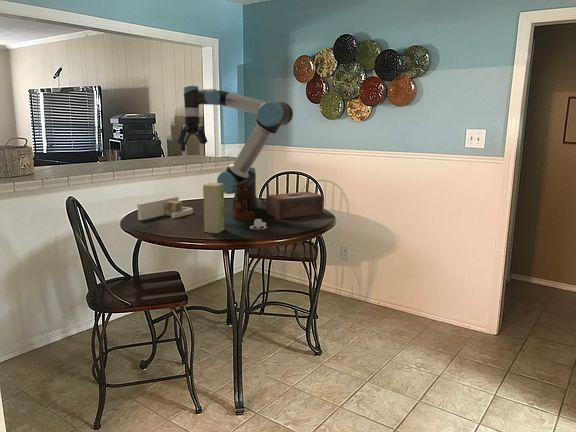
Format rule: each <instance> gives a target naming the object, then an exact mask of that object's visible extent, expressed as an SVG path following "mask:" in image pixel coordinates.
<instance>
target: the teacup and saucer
mask: <svg viewBox="0 0 576 432" xmlns="http://www.w3.org/2000/svg"><path fill="white" fill-rule="evenodd" d="M254 227H255V228H254ZM261 227H263V228H261ZM267 227H268V226H267V222H265V221H262V219H261V218H255V219H254V222H253V225H250V226H249V229H251V230H255V229H261V230H264V229H267Z"/></svg>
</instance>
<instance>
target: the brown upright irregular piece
mask: <svg viewBox="0 0 576 432" xmlns="http://www.w3.org/2000/svg"><path fill="white" fill-rule="evenodd" d="M246 184H247V181H246V180H244V181H243V182H240V183H238V184H236V185H235V186H232V187H236V190H237V188H239V191H237V192H236V200H234V202H236V207H235V210H234V213H233V218H234V219H233V220H234V221H235V222H236V221H237V222H238V221H239V222H249V221H250V222H251V221H255V219H256V216H255V215H256V213H255V211H254V210H250V205H253V203H252V202H251V201H253V200H250V199H253V197H254V192H253V191H249V190H247V188H246V189H245V188H244V189H243V190H242V191H240V188H242V187H244V186H246V187H247V185H246ZM237 199H238V200H237ZM242 200H243V204H242ZM245 200H246V201H245ZM247 200H248V204H247ZM237 202H240V203H241V204H239V206H237ZM243 206H244V207H245V208H247V206H248V210H243V209H244V208H243ZM238 207H239V208H238Z"/></svg>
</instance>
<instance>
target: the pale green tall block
mask: <svg viewBox="0 0 576 432" xmlns="http://www.w3.org/2000/svg"><path fill="white" fill-rule="evenodd" d="M202 189H203V190H202V194H203V220H204V221H203V222H204V223H203V225H204V230H203V231H204V233H205V232H207V233H208V234H219V233H221V232H223V230H225V201H224V198H225V193H224V189H223V183H217V182H208V183H206V184H205V183H204V184H203V186H202ZM207 233H206V234H207Z"/></svg>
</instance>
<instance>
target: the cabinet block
mask: <svg viewBox="0 0 576 432" xmlns="http://www.w3.org/2000/svg"><path fill="white" fill-rule="evenodd" d="M182 207H183V202H182V201H179V200H178V201H167V202H165V214H166V215H165V216H170V217H172V216H171V213H174V212H178V211H182Z"/></svg>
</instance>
